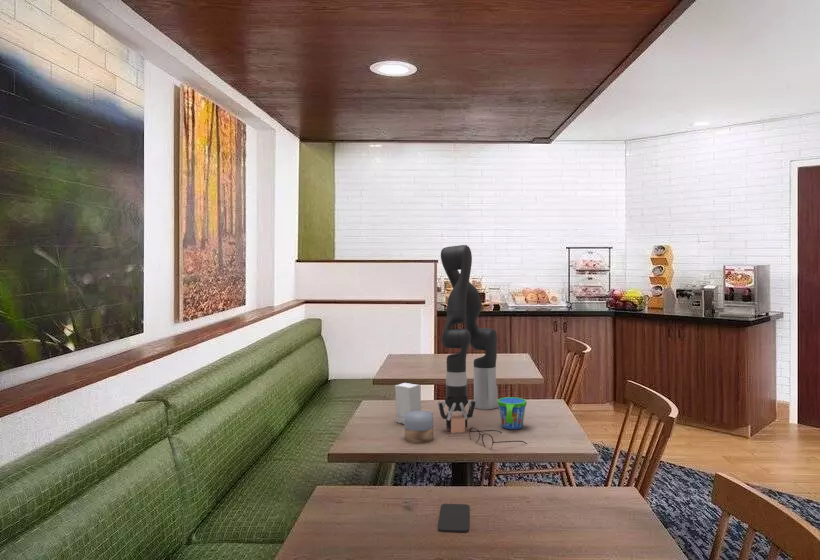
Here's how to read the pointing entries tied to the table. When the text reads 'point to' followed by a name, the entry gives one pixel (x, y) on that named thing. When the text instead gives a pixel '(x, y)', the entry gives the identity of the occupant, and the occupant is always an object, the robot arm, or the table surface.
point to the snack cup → (512, 412)
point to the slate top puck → (418, 420)
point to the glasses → (491, 437)
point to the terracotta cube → (457, 423)
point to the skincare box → (406, 400)
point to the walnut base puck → (419, 436)
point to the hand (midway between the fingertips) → (456, 429)
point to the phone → (454, 518)
